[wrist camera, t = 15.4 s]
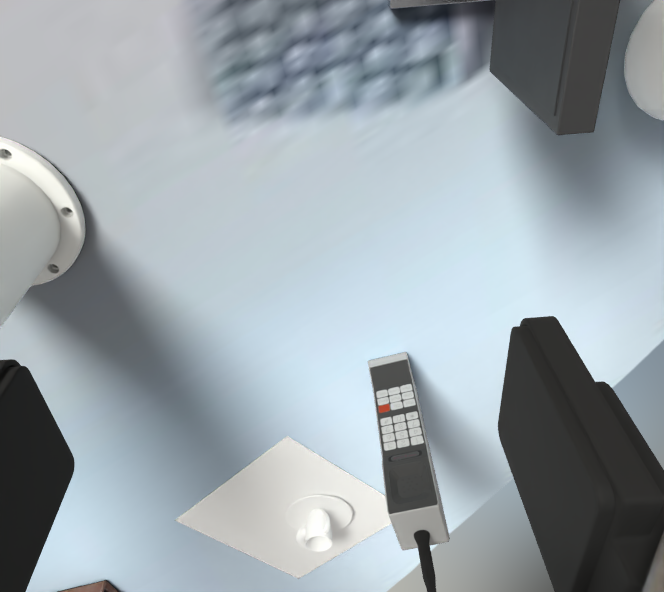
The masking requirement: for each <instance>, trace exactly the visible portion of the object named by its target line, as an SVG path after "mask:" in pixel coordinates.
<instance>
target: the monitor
mask: <svg viewBox="0 0 664 592" xmlns="http://www.w3.org/2000/svg"><path fill="white" fill-rule="evenodd" d="M479 1H491V0H388V6H389V7H390V9H395V8H407V7H419V6H431V5H443V4H455V3H467V2H479ZM619 3H620V0H496V2H495V13H494V25H493V36H492V48H491V59H490V72H491V73H492V74H493V75H494V76H495V77H496V78H497V79H498V80H500V81H501V82H502V83H503V84H504V85H505V86H506V87H507V88H508V89H509V90H510V91H511V92H512V93H513V94H514V95H515V96H516V97H518V98H519V99H520V100H521V101H522V102H523V103H524V104H525V105H526V106H527V107H528V108H529V109H530V110H531V111H532V112H533V113H534V114H535V115H537V116H538V117H539V118H540V119H541V120H542V121H543V122H544V123H545V124H546V125H547V126H548V127H549V128H550V129H551V130H552V131H553V132H555V133H556V134H557V135H565V134H577V133H590V132H594V128H595V123H596V118H597V113H598V108H599V103H600V98H601V93H602V88H603V83H604V78H605V73H606V68H607V63H608V58H609V53H610V48H611V43H612V38H613V33H614V28H615V23H616V18H617V13H618V8H619Z"/></svg>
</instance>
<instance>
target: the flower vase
mask: <svg viewBox="0 0 664 592" xmlns="http://www.w3.org/2000/svg"><path fill="white" fill-rule="evenodd" d="M624 76H625V80H626V85H627V89H628V92H629V94H630V95H631V97H632V99H633V100H634V102H635V103H636V105H637V106H638V107H639V108H640V109H642V110H643V111H644V112H646V113H647V114H648V115H650V116H651V117H653V118H656V119H659V120H663V121H664V0H653V1H652V3H651V4H650V5H649V6H648V8H647V9H646V10H645V11H644V13H643V14H642V15H641V17H640V19H639V20H638V22H637V24H636V26H635V28H634V30H633V32H632V33H631V36H630V39H629V43H628V46H627V50H626V53H625V65H624Z"/></svg>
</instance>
